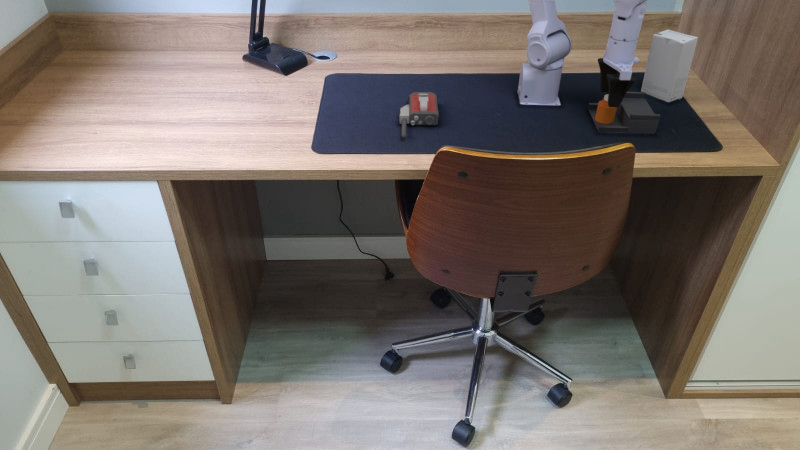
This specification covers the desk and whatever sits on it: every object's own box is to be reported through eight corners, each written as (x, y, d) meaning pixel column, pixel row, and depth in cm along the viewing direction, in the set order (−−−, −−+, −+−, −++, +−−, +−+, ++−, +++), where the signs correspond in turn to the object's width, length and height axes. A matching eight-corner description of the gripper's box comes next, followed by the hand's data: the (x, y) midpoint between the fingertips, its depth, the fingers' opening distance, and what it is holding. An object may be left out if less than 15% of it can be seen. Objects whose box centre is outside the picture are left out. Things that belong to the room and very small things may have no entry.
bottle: (596, 123, 125) (602, 100, 121) (593, 115, 128) (598, 92, 124) (615, 124, 124) (621, 100, 121) (611, 115, 128) (617, 92, 124)
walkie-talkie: (400, 102, 136) (398, 142, 120) (400, 84, 133) (398, 123, 117) (436, 102, 135) (440, 142, 119) (437, 84, 133) (440, 123, 117)
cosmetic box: (682, 98, 136) (701, 37, 127) (666, 105, 133) (685, 42, 124) (652, 87, 141) (669, 27, 132) (637, 92, 139) (653, 32, 130)
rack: (597, 134, 122) (602, 114, 119) (587, 110, 131) (591, 90, 128) (654, 135, 121) (660, 115, 118) (640, 111, 131) (645, 91, 128)
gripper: (653, 49, 109) (636, 114, 117) (634, 25, 120) (620, 86, 129) (616, 49, 109) (602, 113, 117) (600, 25, 121) (588, 85, 129)
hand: (609, 99), depth 123 cm, fingers open, 7 cm apart
